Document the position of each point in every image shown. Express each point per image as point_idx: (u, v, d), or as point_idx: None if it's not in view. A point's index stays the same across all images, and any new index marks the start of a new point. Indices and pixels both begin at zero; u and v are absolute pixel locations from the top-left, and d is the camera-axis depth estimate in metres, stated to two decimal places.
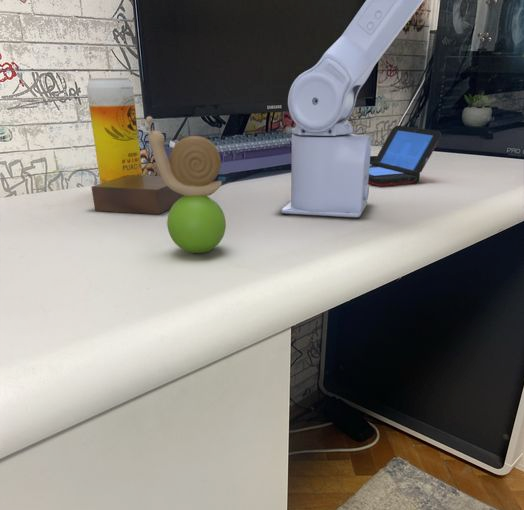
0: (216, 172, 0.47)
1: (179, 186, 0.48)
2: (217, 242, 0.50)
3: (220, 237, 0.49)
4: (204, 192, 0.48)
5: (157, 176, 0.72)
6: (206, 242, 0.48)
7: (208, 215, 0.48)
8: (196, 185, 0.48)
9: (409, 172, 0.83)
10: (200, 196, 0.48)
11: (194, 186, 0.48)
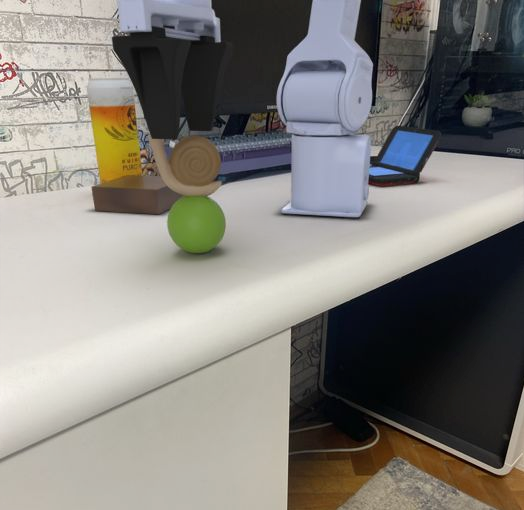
0: (216, 172, 0.47)
1: (179, 186, 0.48)
2: (217, 242, 0.50)
3: (220, 237, 0.49)
4: (204, 192, 0.48)
5: (157, 176, 0.72)
6: (206, 242, 0.48)
7: (208, 215, 0.48)
8: (196, 185, 0.48)
9: (409, 172, 0.83)
10: (200, 196, 0.48)
11: (194, 186, 0.48)
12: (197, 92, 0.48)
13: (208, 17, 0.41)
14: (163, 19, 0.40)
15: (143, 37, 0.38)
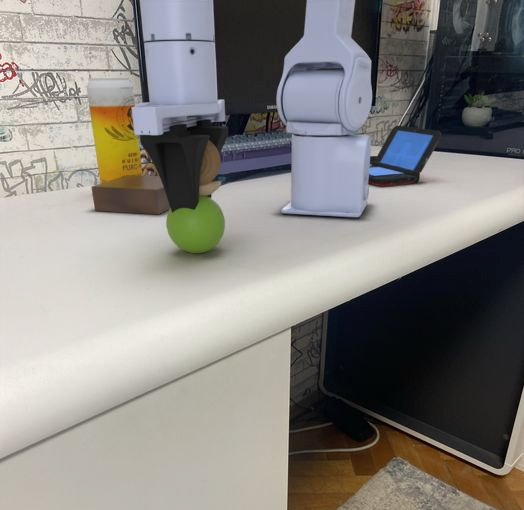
0: (215, 172, 0.47)
1: None
2: (216, 242, 0.49)
3: (219, 237, 0.49)
4: (203, 192, 0.48)
5: (157, 176, 0.72)
6: (204, 241, 0.48)
7: (206, 215, 0.47)
8: None
9: (409, 172, 0.83)
10: (200, 196, 0.48)
11: None
12: None
13: (214, 111, 0.44)
14: (173, 116, 0.43)
15: (168, 135, 0.43)
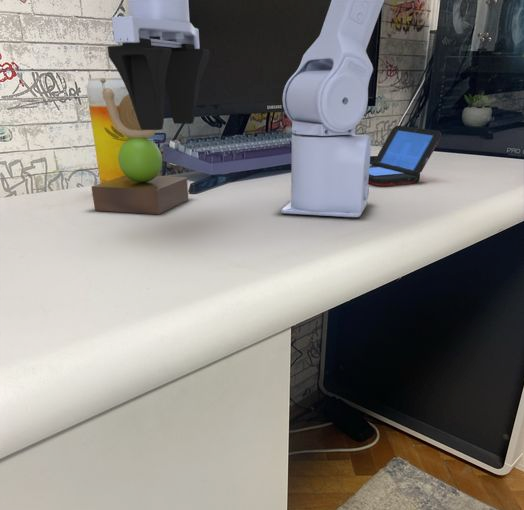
0: None
1: (125, 130, 0.65)
2: (154, 173, 0.67)
3: (156, 169, 0.67)
4: (144, 135, 0.66)
5: (157, 176, 0.72)
6: (144, 172, 0.66)
7: (145, 151, 0.65)
8: (138, 129, 0.65)
9: (409, 172, 0.83)
10: (141, 138, 0.66)
11: (136, 130, 0.65)
12: (180, 91, 0.57)
13: (186, 29, 0.51)
14: (149, 32, 0.49)
15: (133, 47, 0.47)
